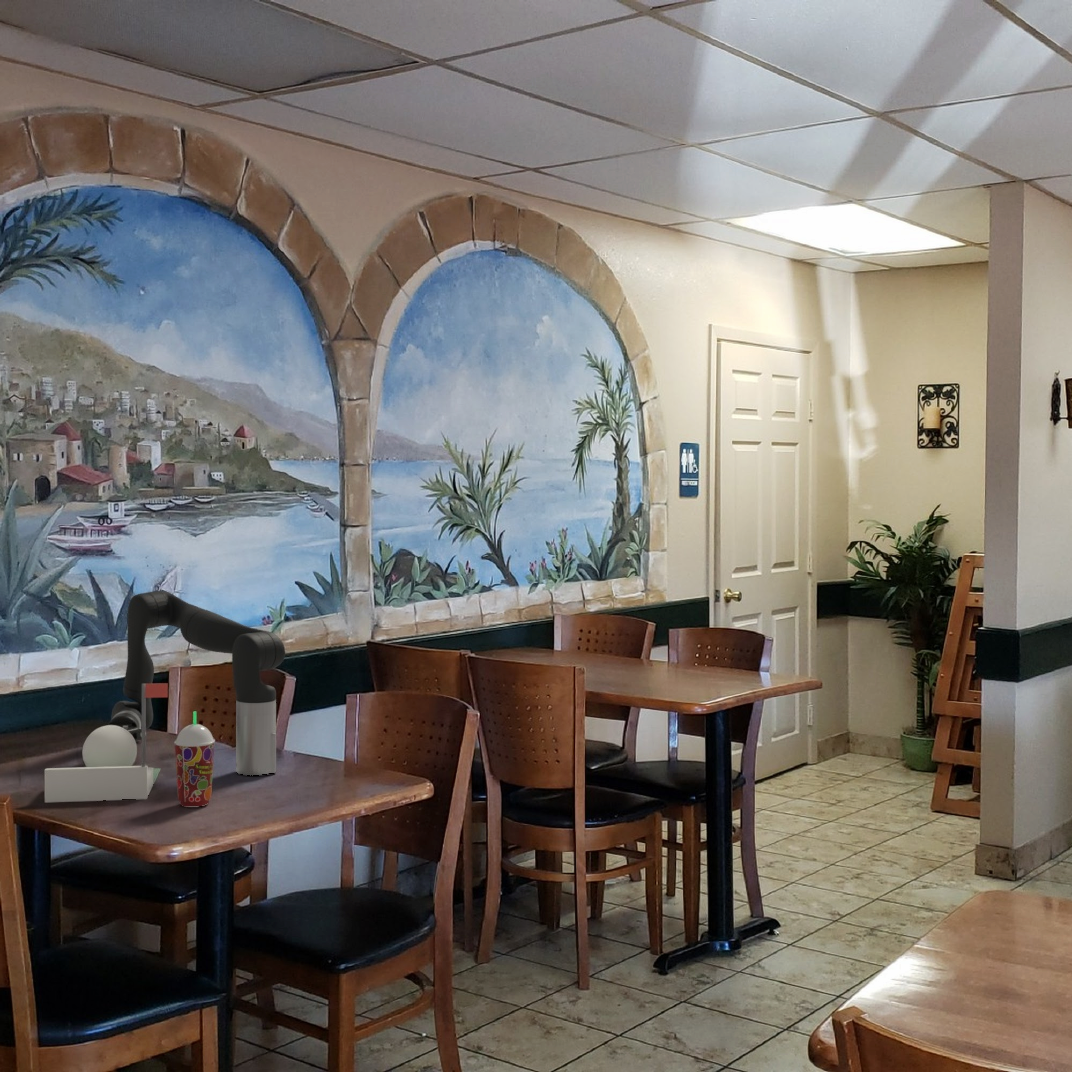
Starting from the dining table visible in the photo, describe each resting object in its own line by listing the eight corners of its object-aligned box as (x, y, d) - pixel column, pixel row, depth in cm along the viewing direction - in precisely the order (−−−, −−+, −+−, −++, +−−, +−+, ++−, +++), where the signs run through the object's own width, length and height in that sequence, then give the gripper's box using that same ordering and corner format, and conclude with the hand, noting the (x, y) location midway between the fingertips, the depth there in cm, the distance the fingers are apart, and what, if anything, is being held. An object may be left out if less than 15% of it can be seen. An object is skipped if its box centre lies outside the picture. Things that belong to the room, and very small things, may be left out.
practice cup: (178, 769, 309) (178, 665, 308) (167, 798, 280) (167, 683, 279) (68, 772, 304) (67, 666, 303) (44, 802, 275) (44, 686, 274)
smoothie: (204, 810, 270) (204, 715, 269) (167, 808, 271) (167, 713, 271) (221, 801, 278) (221, 709, 277) (185, 799, 280) (185, 707, 279)
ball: (139, 770, 305) (139, 720, 305) (133, 782, 294) (133, 729, 293) (86, 772, 303) (86, 721, 303) (78, 783, 291) (78, 731, 291)
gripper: (97, 713, 323) (86, 726, 306) (151, 712, 326) (144, 725, 309) (97, 742, 324) (86, 757, 307) (151, 741, 326) (144, 756, 309)
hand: (115, 741), depth 308 cm, fingers closed
